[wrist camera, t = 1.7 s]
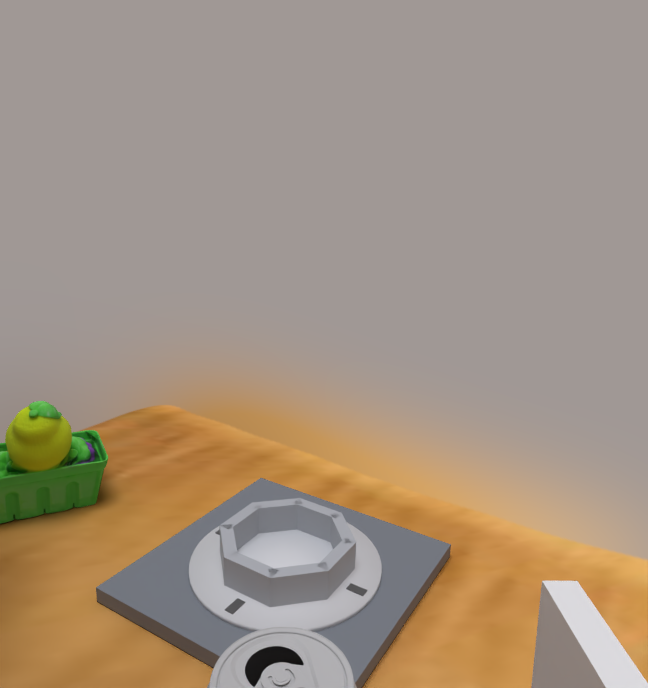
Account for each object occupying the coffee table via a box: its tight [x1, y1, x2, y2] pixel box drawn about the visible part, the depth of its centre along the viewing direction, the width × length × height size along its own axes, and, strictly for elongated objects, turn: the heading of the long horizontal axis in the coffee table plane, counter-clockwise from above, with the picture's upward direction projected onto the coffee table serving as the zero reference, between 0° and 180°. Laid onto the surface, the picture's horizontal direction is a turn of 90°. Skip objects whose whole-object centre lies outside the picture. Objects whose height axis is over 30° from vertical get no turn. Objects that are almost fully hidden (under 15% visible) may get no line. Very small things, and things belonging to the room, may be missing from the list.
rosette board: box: [96, 478, 451, 688], centre depth 47 cm, size 20×20×4 cm
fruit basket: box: [0, 401, 108, 524], centre depth 55 cm, size 11×9×11 cm
